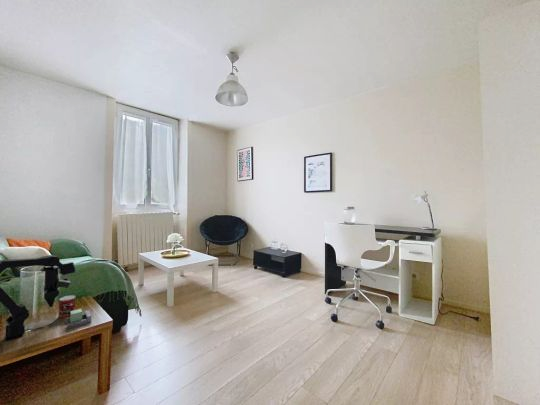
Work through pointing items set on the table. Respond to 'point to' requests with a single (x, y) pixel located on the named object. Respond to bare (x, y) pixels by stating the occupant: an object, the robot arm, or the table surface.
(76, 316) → the chute block
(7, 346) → the table surface
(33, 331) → the table surface
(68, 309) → the canned food
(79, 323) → the side mount
